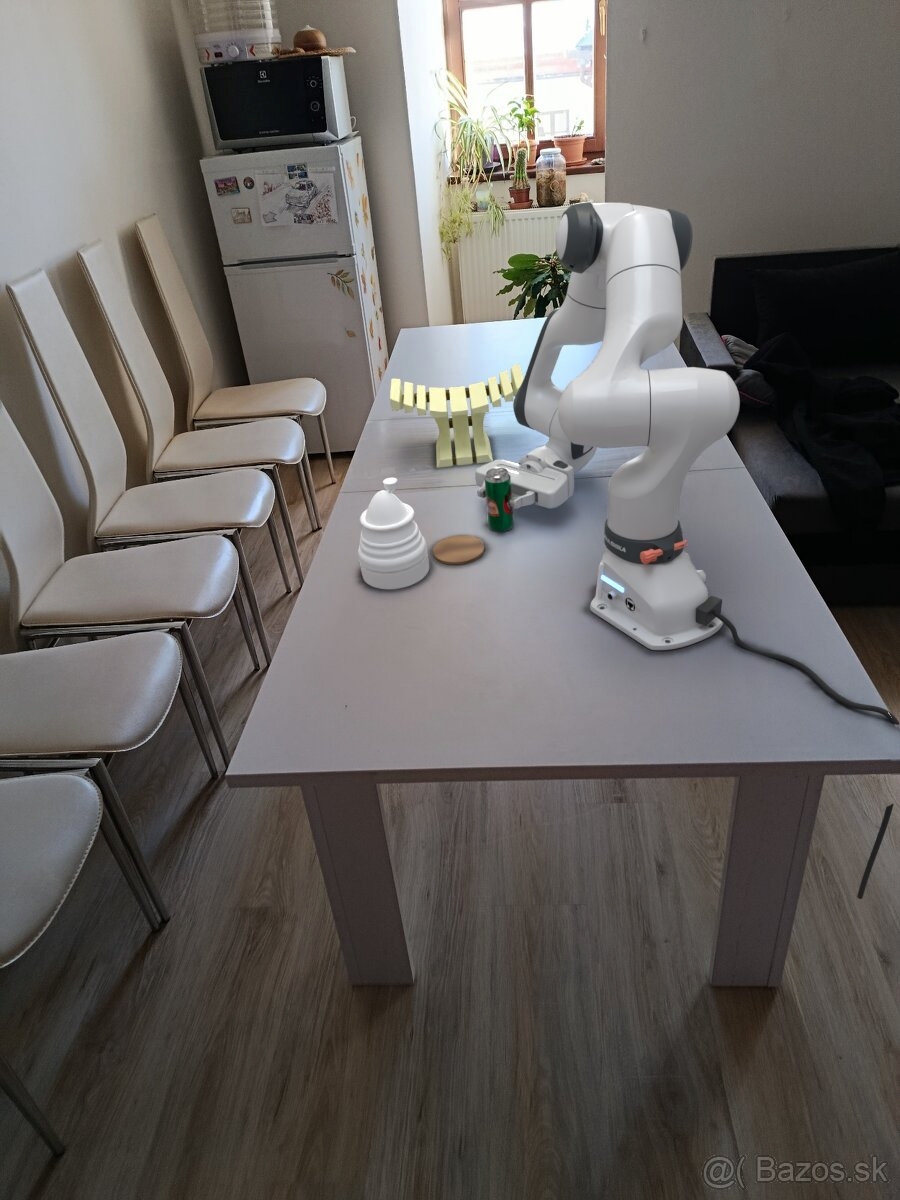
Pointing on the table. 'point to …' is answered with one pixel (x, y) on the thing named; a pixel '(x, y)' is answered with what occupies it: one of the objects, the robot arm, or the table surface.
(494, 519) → the soda can
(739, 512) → the table surface
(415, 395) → the slatted curved stool
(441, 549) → the cork coaster
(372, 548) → the honey pot
